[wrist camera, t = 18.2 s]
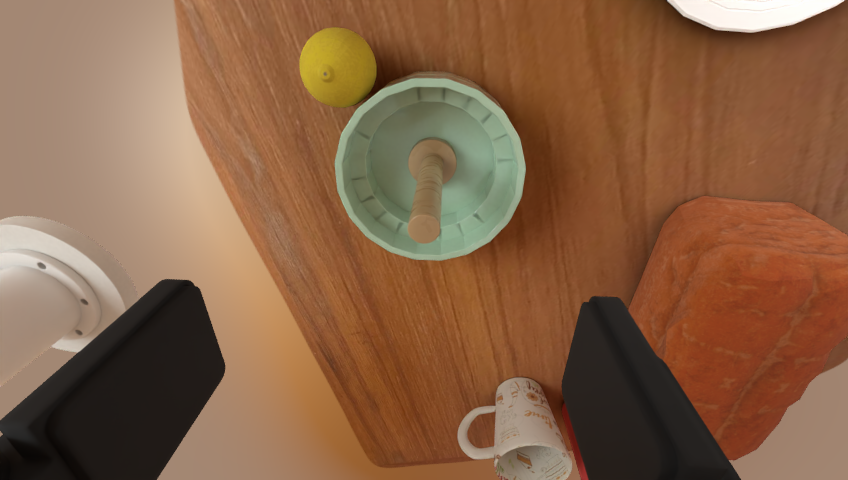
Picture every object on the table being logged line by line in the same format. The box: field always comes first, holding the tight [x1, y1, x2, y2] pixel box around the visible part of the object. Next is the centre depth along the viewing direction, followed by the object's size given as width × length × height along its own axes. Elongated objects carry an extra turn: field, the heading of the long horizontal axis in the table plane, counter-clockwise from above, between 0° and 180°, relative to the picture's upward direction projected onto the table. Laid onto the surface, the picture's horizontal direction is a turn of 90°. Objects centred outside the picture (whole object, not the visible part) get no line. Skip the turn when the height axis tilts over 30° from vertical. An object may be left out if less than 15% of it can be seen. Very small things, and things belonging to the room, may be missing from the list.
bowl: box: [335, 71, 526, 260], centre depth 34 cm, size 15×15×6 cm
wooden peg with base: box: [408, 137, 457, 244], centre depth 29 cm, size 4×4×14 cm
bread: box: [628, 196, 848, 460], centre depth 38 cm, size 16×27×11 cm, turn 176°
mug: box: [458, 377, 572, 480], centre depth 47 cm, size 8×13×10 cm, turn 109°
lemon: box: [300, 27, 376, 107], centre depth 29 cm, size 6×6×8 cm
